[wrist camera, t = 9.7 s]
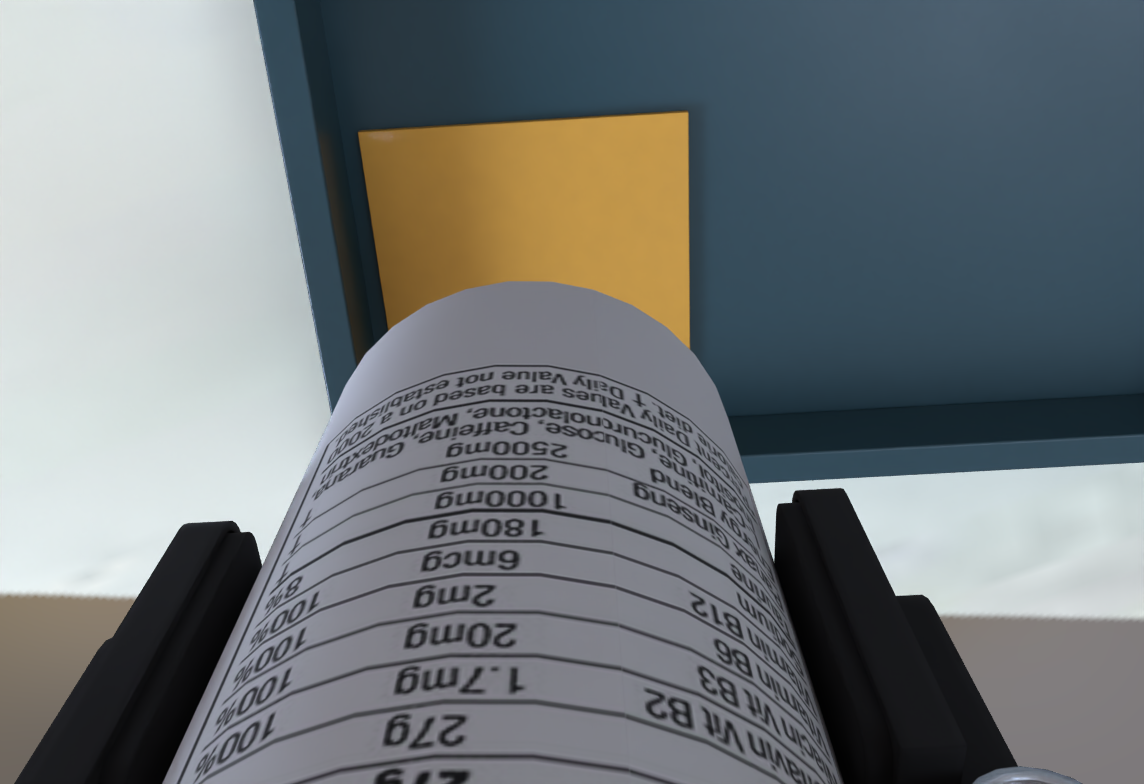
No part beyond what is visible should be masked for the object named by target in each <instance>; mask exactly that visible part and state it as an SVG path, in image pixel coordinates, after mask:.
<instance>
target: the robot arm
mask: <svg viewBox="0 0 1144 784" xmlns="http://www.w3.org/2000/svg"><path fill="white" fill-rule="evenodd" d="M774 564H775V567H776V570H777V574H778V577H779V580H780V583H781V586H782V589H783V592H784V596H785V599H786V602H787V605H788V608H789V611H790V614H791V618H792V621H793V624H794V627H795V630H796V633H797V636H798V640H799V643H800V646H801V649H802V652H803V655H804V658H805V661H806V665H807V668H808V671H809V674H810V677H811V680H812V683H813V687H814V690H815V693H816V696H817V699H818V702H819V705H820V709H821V712H822V715H823V718H824V721H825V724H826V727H827V731H828V734H829V737H830V740H831V743H832V746H833V749H834V753H835V756H836V759H837V762H838V765H839V768H840V771H841V774H842V778H843V781H844V784H1082V783H1080V782H1079V781H1077V780H1075V779H1073V778H1071V777H1068V776H1064V775H1061V774H1059V773H1056V772H1053V771H1049V770H1046V769H1038V768H1029V767H1022V766H1019V767H1018V766H1017V763H1016V762H1015V760H1014V758H1013V756H1012V754H1011V752H1010V750H1009V748H1008V746H1007V744H1006V743H1005V741H1004V739H1003V737H1002V735H1001V733H1000V731H999V729H998V727H997V726H996V724H995V722H994V720H993V718H992V716H991V714H990V712H989V710H988V708H987V707H986V705H985V703H984V701H983V699H982V697H981V695H980V693H979V691H978V690H977V688H976V686H975V684H974V682H973V680H972V678H971V676H970V674H969V672H968V671H967V669H966V667H965V665H964V663H963V661H962V659H961V657H960V655H959V653H958V652H957V650H956V648H955V646H954V644H953V642H952V640H951V638H950V636H949V634H948V633H947V631H946V629H945V627H944V625H943V623H942V621H941V619H940V617H939V616H938V614H937V612H936V610H935V608H934V606H933V605H932V603H931V602H930V601H929V599H928V598H927V597H925V596H923V595H908V596H895V594H894V591H893V589H892V587H891V585H890V583H889V581H888V579H887V577H886V575H885V573H884V571H883V569H882V567H881V564H880V562H879V560H878V558H877V556H876V554H875V552H874V550H873V548H872V546H871V544H870V542H869V539H868V537H867V535H866V533H865V531H864V529H863V527H862V525H861V523H860V521H859V519H858V517H857V514H856V512H855V510H854V508H853V506H852V504H851V502H850V500H849V498H848V496H847V494H846V492H845V491H844V489H842V488H835V489H817V490H798V491H795V492H794V495H793V498H792V503H782V504H778V506H777V512H776V534H775V559H774ZM261 568H262V564H261V560H260V556H259V552H258V547H257V543H256V540H255V537H254V536H253V534H252V533H250V532H240V529H239V527H238V526H237V524H236V523H235V522H233V521H222V522H203V523H187V524H184V525H183V526H182V527H181V528H180V529H179V531H178V532H177V534H176V535H175V537H174V539H173V540H172V542H171V544H170V545H169V547H168V548H167V550H166V552H165V553H164V555H163V557H162V558H161V560H160V561H159V563H158V565H157V566H156V568H155V569H154V571H153V573H152V574H151V576H150V578H149V579H148V581H147V582H146V584H145V586H144V587H143V589H142V591H141V592H140V594H139V595H138V597H137V599H136V600H135V602H134V604H133V605H132V607H131V608H130V610H129V612H128V613H127V615H126V617H125V618H124V620H123V621H122V623H121V625H120V626H119V628H118V629H117V631H116V633H115V634H114V636H113V637H112V638H110V639H108V640H106V641H105V642H104V644H103V645H102V646H101V647H100V648H99V650H98V651H97V652H96V654H95V656H94V658H93V659H92V661H91V662H90V664H89V665H88V667H87V668H86V670H85V672H84V673H83V675H82V676H81V678H80V680H79V681H78V683H77V684H76V686H75V688H74V689H73V691H72V692H71V694H70V696H69V697H68V699H67V700H66V702H65V704H64V705H63V707H62V708H61V710H60V712H59V713H58V715H57V716H56V718H55V719H54V721H53V723H52V724H51V726H50V727H49V729H48V731H47V732H46V734H45V735H44V737H43V739H42V740H41V742H40V743H39V745H38V747H37V748H36V750H35V751H34V753H33V755H32V756H31V758H30V760H29V761H28V763H27V764H26V766H25V767H24V769H23V771H22V772H21V774H20V775H19V777H18V779H17V780H16V782H15V783H14V784H162V783H163V781H164V779H165V777H166V775H167V772H168V770H169V768H170V766H171V764H172V762H173V759H174V757H175V755H176V753H177V751H178V749H179V746H180V744H181V742H182V740H183V738H184V735H185V733H186V731H187V729H188V727H189V725H190V722H191V720H192V718H193V716H194V714H195V712H196V709H197V707H198V705H199V703H200V701H201V699H202V696H203V694H204V692H205V690H206V688H207V685H208V683H209V681H210V679H211V677H212V675H213V672H214V670H215V668H216V666H217V664H218V662H219V659H220V657H221V655H222V653H223V651H224V649H225V646H226V644H227V642H228V640H229V638H230V635H231V633H232V631H233V629H234V627H235V625H236V622H237V620H238V618H239V616H240V614H241V612H242V609H243V607H244V605H245V603H246V601H247V599H248V596H249V594H250V592H251V590H252V588H253V585H254V583H255V581H256V579H257V577H258V575H259V572H260V570H261Z"/></svg>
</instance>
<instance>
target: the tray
mask: <svg viewBox="0 0 1144 784" xmlns="http://www.w3.org/2000/svg"><path fill="white" fill-rule="evenodd" d="M253 2H254V7H255V13H256V18H257V23H258V28H259V34H260V39H261V44H262V50H263V55H264V60H265V66H266V71H267V76H268V82H269V87H270V92H271V97H272V103H273V108H274V113H275V119H276V124H277V129H278V135H279V140H280V145H281V150H282V156H283V161H284V166H285V172H286V177H287V182H288V188H289V193H290V198H291V204H292V209H293V214H294V219H295V225H296V230H297V235H298V241H299V246H300V251H301V257H302V262H303V267H304V273H305V278H306V283H307V288H308V294H309V299H310V304H311V310H312V315H313V320H314V326H315V331H316V336H317V342H318V347H319V352H320V357H321V363H322V368H323V373H324V379H325V384H326V389H327V395H328V400H329V405H330V410H331V416H332V414H333V412H334V409H335V407H336V405H337V403H338V401H339V398H340V396H341V394H342V392H343V390H344V388H345V385H346V384H347V382H348V381H349V379H350V377H351V376H352V374H353V373H354V371H355V370H356V368H357V366H358V365H359V363H360V362H361V360H362V359H363V357H364V355H365V354H366V353H367V352H368V351H369V350H370V349H371V348H372V347H373V346H374V345H375V344H376V343H377V342H378V341H379V340H380V339H381V338H382V337H383V336H384V335H385V334H386V333H387V332H388V327H387V320H386V314H385V307H384V301H383V294H382V288H381V281H380V275H379V268H378V262H377V255H376V248H375V242H374V235H373V229H372V222H371V216H370V209H369V203H368V196H367V190H366V183H365V177H364V170H363V164H362V157H361V151H360V144H359V137H358V132H359V131H360V130H375V129H392V128H408V127H424V126H441V125H457V124H473V123H490V122H506V121H522V120H539V119H555V118H571V117H588V116H604V115H620V114H637V113H653V112H669V111H686V110H687V111H688V113H689V264H690V350H691V351H692V352H693V353H694V354H695V356H696V357H697V359H698V360H699V362H700V363H701V365H702V366H703V368H704V369H705V371H706V372H707V374H708V375H709V377H710V378H711V380H712V381H713V383H714V384H715V386H716V388H717V391H718V393H719V396H720V399H721V401H722V404H723V407H724V409H725V412H726V415H727V417H728V420H729V423H730V426H731V429H732V432H733V436H734V439H735V442H736V445H737V448H738V451H739V454H740V457H741V461H742V464H743V467H744V470H745V473H746V476H747V479H748V483H749V484H750V483H768V482H787V481H805V480H824V479H843V478H861V477H880V476H899V475H917V474H936V473H955V472H973V471H992V470H1011V469H1029V468H1048V467H1067V466H1085V465H1104V464H1122V463H1141V462H1144V0H253Z"/></svg>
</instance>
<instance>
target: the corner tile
mask: <svg viewBox="0 0 1144 784" xmlns="http://www.w3.org/2000/svg"><path fill="white" fill-rule="evenodd" d="M358 137H359V144H360V151H361V157H362V164H363V170H364V177H365V183H366V190H367V196H368V203H369V209H370V216H371V222H372V229H373V235H374V242H375V248H376V255H377V262H378V268H379V275H380V281H381V288H382V294H383V301H384V307H385V314H386V320H387V327H388V331H389V330H390V329H391V328H392V327H393V326H394V325H396V324H398V323H399V322H401V321H402V320H404V319H405V318H407V317H408V316H410V315H411V314H413V313H415V312H416V311H418V310H419V309H421V308H422V307H424V306H425V305H427V304H429V303H432V302H434V301H437V300H440V299H442V298H445V297H447V296H450V295H452V294H455V293H457V292H460V291H463V290H465V289H470V288H475V287H480V286H486V285H491V284H496V283H502V282H507V281H540V282H556V283H561V284H567V285H572V286H577V287H582V288H588V289H593V290H596V291H598V292H601V293H603V294H606V295H608V296H611V297H613V298H616V299H618V300H621V301H623V302H626V303H628V304H631V305H633V306H635V307H636V308H638V309H639V310H641V311H642V312H644V313H645V314H647V315H649V316H650V317H652V318H653V319H655V320H656V321H658V322H660V323H661V324H663V325H664V326H666V327H667V328H668V329H669V330H670V331H671V332H672V333H673V334H674V335H675V336H676V337H677V338H678V339H679V340H680V341H681V342H682V343H683V344H685V345H686V346H687V347H688V348H689V349H690V264H689V113H688V111H687V110H686V111H669V112H653V113H637V114H620V115H604V116H588V117H571V118H555V119H539V120H522V121H506V122H490V123H473V124H457V125H441V126H424V127H408V128H392V129H375V130H360V131H359V132H358Z"/></svg>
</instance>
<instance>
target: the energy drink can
mask: <svg viewBox="0 0 1144 784" xmlns="http://www.w3.org/2000/svg"><path fill="white" fill-rule="evenodd" d="M162 784H844V781H843V778H842V774H841V771H840V768H839V765H838V762H837V759H836V756H835V753H834V749H833V746H832V743H831V740H830V737H829V734H828V731H827V727H826V724H825V721H824V718H823V715H822V712H821V709H820V705H819V702H818V699H817V696H816V693H815V690H814V687H813V683H812V680H811V677H810V674H809V671H808V668H807V665H806V661H805V658H804V655H803V652H802V649H801V646H800V643H799V640H798V636H797V633H796V630H795V627H794V624H793V621H792V618H791V614H790V611H789V608H788V605H787V602H786V599H785V596H784V592H783V589H782V586H781V583H780V580H779V577H778V574H777V570H776V567H775V564H774V561H773V558H772V555H771V552H770V549H769V545H768V542H767V539H766V536H765V533H764V530H763V527H762V523H761V520H760V517H759V514H758V511H757V508H756V505H755V501H754V498H753V495H752V492H751V489H750V486H749V483H748V479H747V476H746V473H745V470H744V467H743V464H742V461H741V457H740V454H739V451H738V448H737V445H736V442H735V439H734V436H733V432H732V429H731V426H730V423H729V420H728V417H727V415H726V412H725V409H724V407H723V404H722V401H721V399H720V396H719V393H718V391H717V388H716V386H715V384H714V383H713V381H712V380H711V378H710V377H709V375H708V374H707V372H706V371H705V369H704V368H703V366H702V365H701V363H700V362H699V360H698V359H697V357H696V356H695V354H694V353H693V352H692V351H691V350H690V349H689V348H688V347H687V346H686V345H685V344H683V343H682V342H681V341H680V340H679V339H678V338H677V337H676V336H675V335H674V334H673V333H672V332H671V331H670V330H669V329H668V328H667V327H666V326H664V325H663V324H661V323H660V322H658V321H656V320H655V319H653V318H652V317H650V316H649V315H647V314H645V313H644V312H642V311H641V310H639V309H638V308H636V307H635V306H633V305H631V304H628V303H626V302H623V301H621V300H618V299H616V298H613V297H611V296H608V295H606V294H603V293H601V292H598V291H596V290H593V289H588V288H582V287H577V286H572V285H567V284H561V283H556V282H540V281H507V282H502V283H496V284H491V285H486V286H480V287H475V288H470V289H465V290H463V291H460V292H457V293H455V294H452V295H450V296H447V297H445V298H442V299H440V300H437V301H434V302H432V303H429V304H427V305H425V306H424V307H422V308H421V309H419V310H418V311H416V312H415V313H413V314H411V315H410V316H408V317H407V318H405V319H404V320H402V321H401V322H399V323H398V324H396V325H394V326H393V327H392V328H391V329H390V330H389V331H388V332H387V333H386V334H385V335H384V336H383V337H382V338H381V339H380V340H379V341H378V342H377V343H376V344H375V345H374V346H373V347H372V348H371V349H370V350H369V351H368V352H367V353H366V354H365V355H364V357H363V359H362V360H361V362H360V363H359V365H358V366H357V368H356V370H355V371H354V373H353V374H352V376H351V377H350V379H349V381H348V382H347V384H346V385H345V388H344V390H343V392H342V394H341V396H340V398H339V401H338V403H337V405H336V407H335V409H334V412H333V414H332V416H331V418H330V420H329V422H328V425H327V427H326V429H325V431H324V433H323V435H322V438H321V440H320V442H319V444H318V446H317V448H316V451H315V453H314V455H313V457H312V459H311V462H310V464H309V466H308V468H307V470H306V472H305V475H304V477H303V479H302V481H301V483H300V485H299V488H298V490H297V492H296V494H295V496H294V498H293V501H292V503H291V505H290V507H289V509H288V512H287V514H286V516H285V518H284V520H283V522H282V525H281V527H280V529H279V531H278V533H277V535H276V538H275V540H274V542H273V544H272V546H271V548H270V551H269V553H268V555H267V557H266V559H265V562H264V564H263V566H262V568H261V570H260V572H259V575H258V577H257V579H256V581H255V583H254V585H253V588H252V590H251V592H250V594H249V596H248V599H247V601H246V603H245V605H244V607H243V609H242V612H241V614H240V616H239V618H238V620H237V622H236V625H235V627H234V629H233V631H232V633H231V635H230V638H229V640H228V642H227V644H226V646H225V649H224V651H223V653H222V655H221V657H220V659H219V662H218V664H217V666H216V668H215V670H214V672H213V675H212V677H211V679H210V681H209V683H208V685H207V688H206V690H205V692H204V694H203V696H202V699H201V701H200V703H199V705H198V707H197V709H196V712H195V714H194V716H193V718H192V720H191V722H190V725H189V727H188V729H187V731H186V733H185V735H184V738H183V740H182V742H181V744H180V746H179V749H178V751H177V753H176V755H175V757H174V759H173V762H172V764H171V766H170V768H169V770H168V772H167V775H166V777H165V779H164V781H163V783H162Z"/></svg>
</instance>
